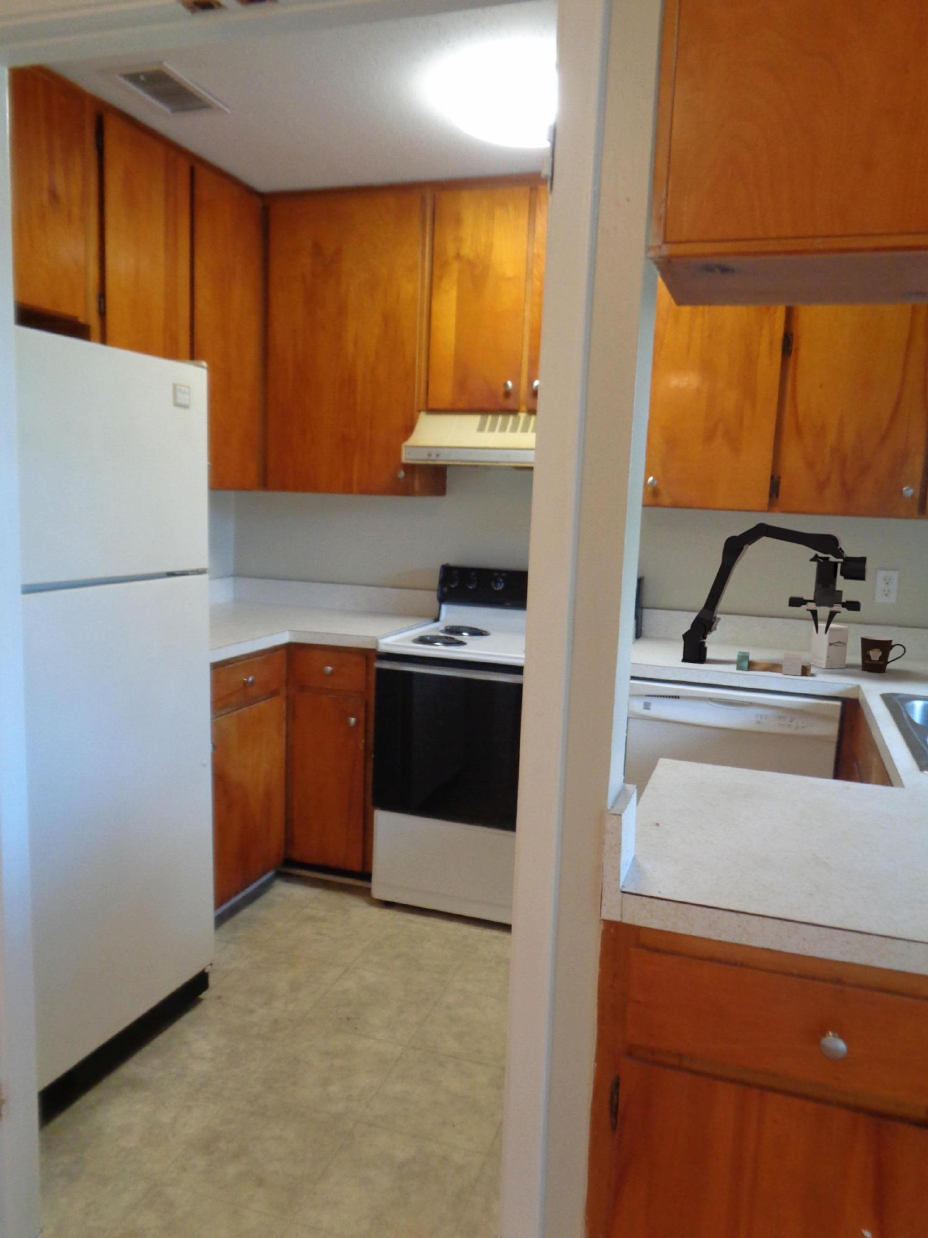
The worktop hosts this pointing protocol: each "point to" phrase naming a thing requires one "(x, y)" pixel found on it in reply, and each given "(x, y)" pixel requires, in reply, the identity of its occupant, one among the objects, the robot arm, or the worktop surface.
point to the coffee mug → (877, 653)
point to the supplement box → (829, 646)
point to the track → (764, 665)
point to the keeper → (792, 664)
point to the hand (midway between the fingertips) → (821, 633)
